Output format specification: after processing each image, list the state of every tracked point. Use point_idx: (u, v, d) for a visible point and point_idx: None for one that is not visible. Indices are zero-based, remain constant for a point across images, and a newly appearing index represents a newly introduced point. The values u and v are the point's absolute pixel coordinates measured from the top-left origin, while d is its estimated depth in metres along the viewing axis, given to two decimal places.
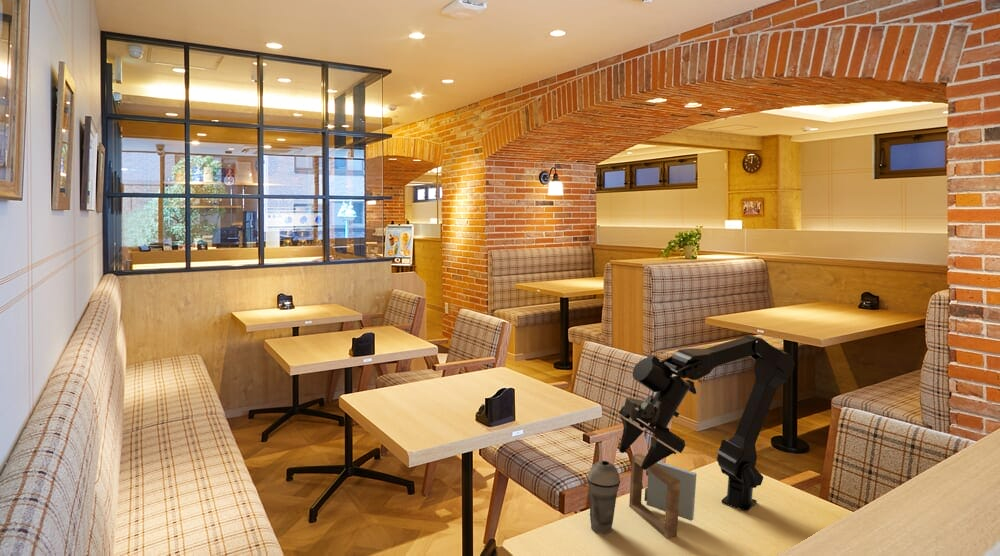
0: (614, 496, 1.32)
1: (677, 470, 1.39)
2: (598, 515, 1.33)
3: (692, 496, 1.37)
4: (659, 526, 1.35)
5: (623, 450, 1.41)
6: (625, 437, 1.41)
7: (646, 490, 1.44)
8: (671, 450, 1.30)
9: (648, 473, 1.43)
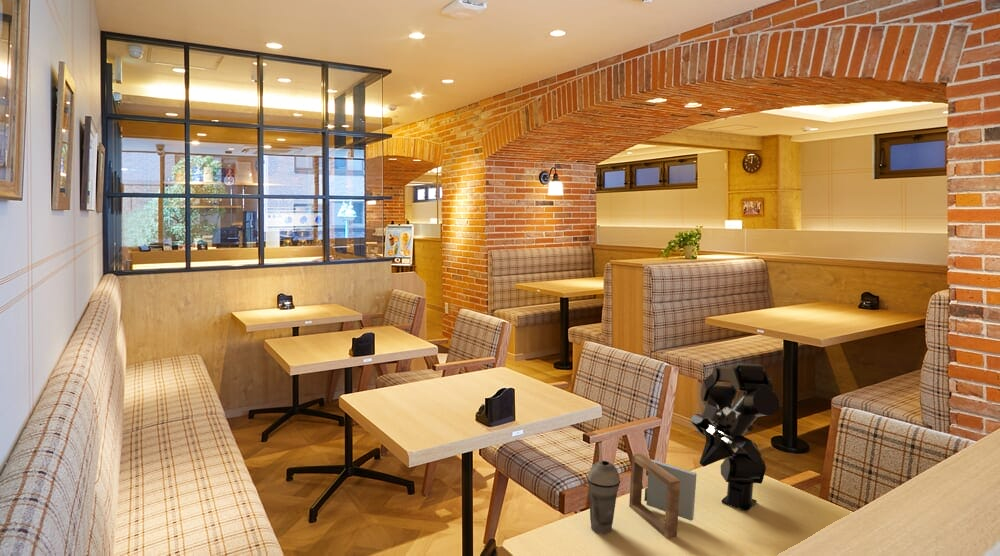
0: (614, 496, 1.32)
1: (677, 470, 1.39)
2: (598, 515, 1.33)
3: (692, 496, 1.37)
4: (659, 526, 1.35)
5: None
6: (707, 450, 1.41)
7: (646, 490, 1.44)
8: (733, 451, 1.39)
9: (648, 473, 1.43)
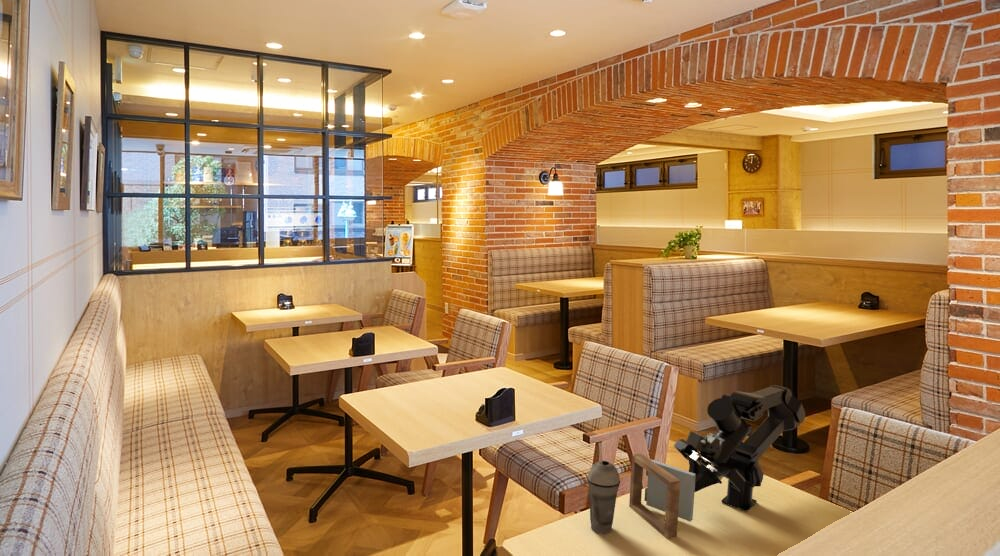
0: (614, 496, 1.32)
1: (676, 470, 1.38)
2: (598, 515, 1.33)
3: (691, 497, 1.37)
4: (659, 526, 1.35)
5: None
6: None
7: (646, 490, 1.44)
8: (718, 479, 1.37)
9: (648, 473, 1.43)
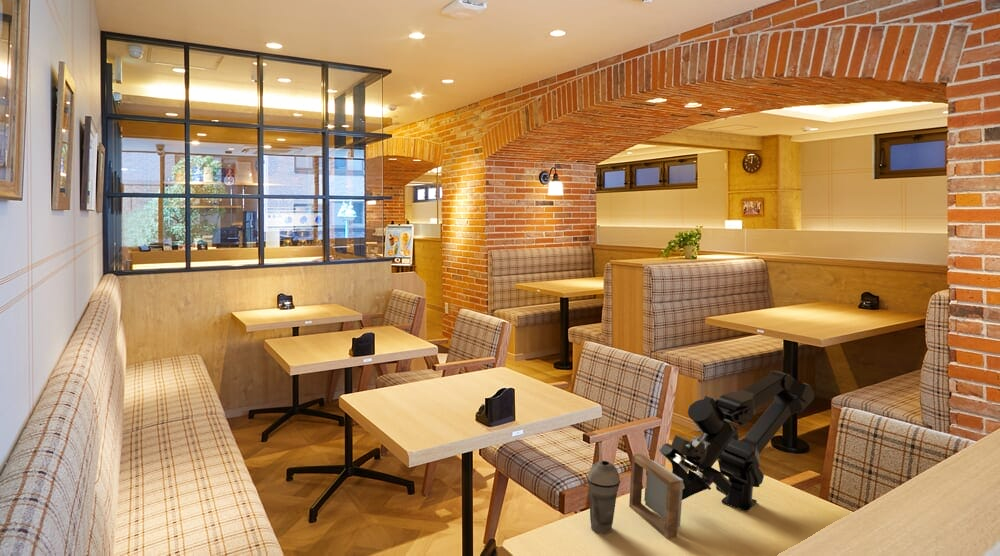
0: (614, 496, 1.32)
1: None
2: (598, 515, 1.33)
3: None
4: (659, 526, 1.35)
5: None
6: None
7: (645, 490, 1.44)
8: (707, 485, 1.35)
9: (647, 473, 1.43)
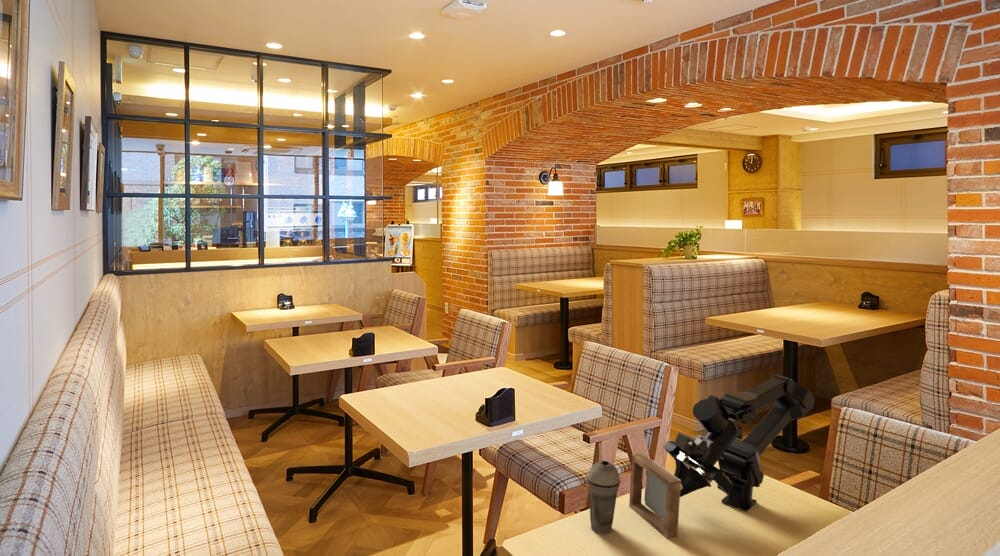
0: (614, 496, 1.32)
1: None
2: (598, 515, 1.33)
3: None
4: (659, 526, 1.35)
5: None
6: (677, 477, 1.40)
7: (645, 490, 1.44)
8: (707, 482, 1.36)
9: (647, 473, 1.43)
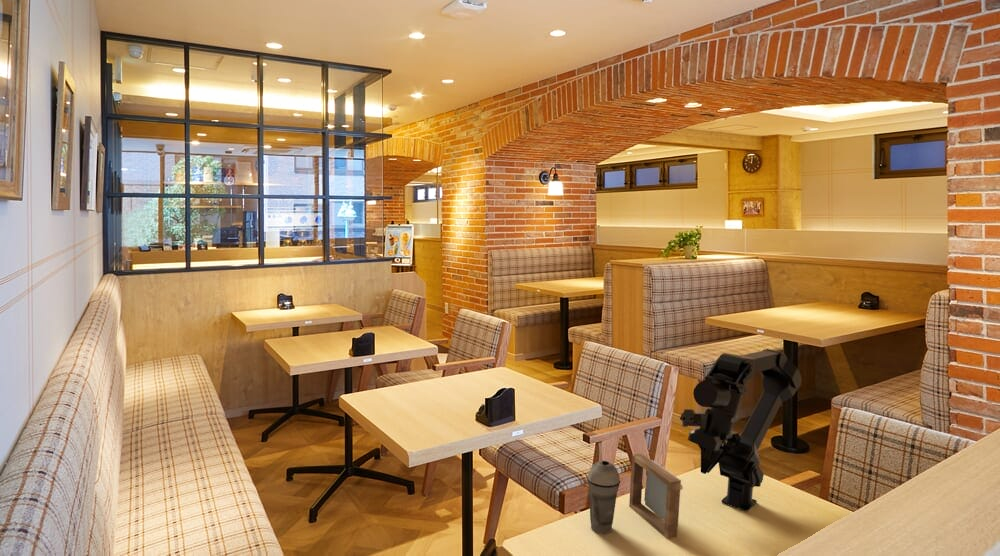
0: (614, 496, 1.32)
1: None
2: (598, 515, 1.33)
3: None
4: (659, 526, 1.35)
5: (707, 469, 1.41)
6: None
7: (645, 490, 1.44)
8: None
9: (647, 473, 1.43)
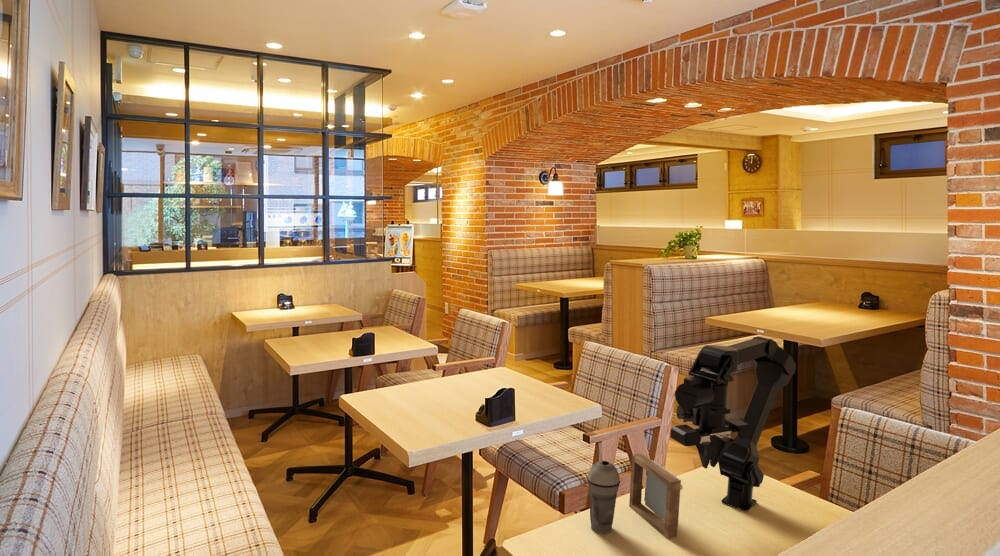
0: (614, 496, 1.32)
1: None
2: (598, 515, 1.33)
3: None
4: (659, 526, 1.35)
5: (712, 464, 1.40)
6: None
7: (645, 490, 1.44)
8: None
9: (647, 473, 1.43)
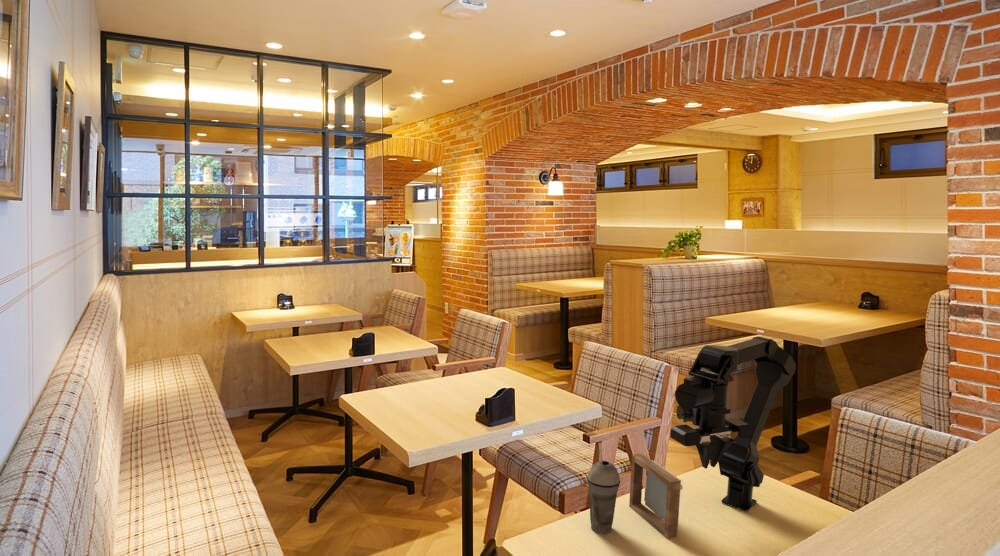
0: (614, 496, 1.32)
1: None
2: (598, 515, 1.33)
3: None
4: (659, 526, 1.35)
5: (712, 464, 1.40)
6: None
7: (645, 490, 1.44)
8: None
9: (647, 473, 1.43)
